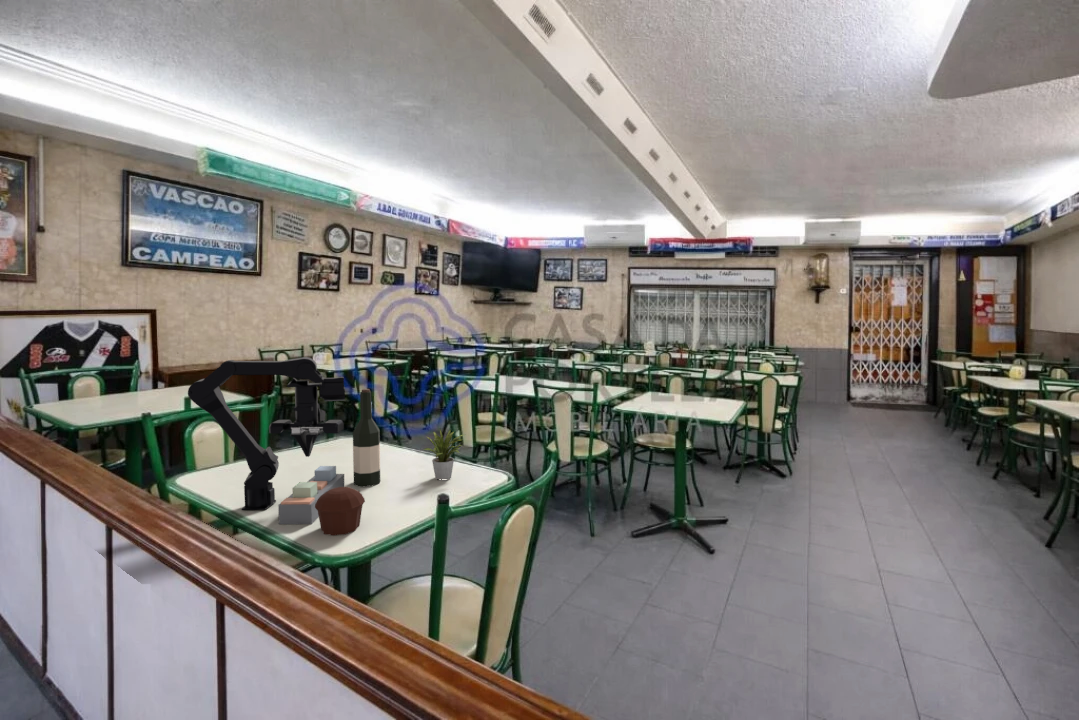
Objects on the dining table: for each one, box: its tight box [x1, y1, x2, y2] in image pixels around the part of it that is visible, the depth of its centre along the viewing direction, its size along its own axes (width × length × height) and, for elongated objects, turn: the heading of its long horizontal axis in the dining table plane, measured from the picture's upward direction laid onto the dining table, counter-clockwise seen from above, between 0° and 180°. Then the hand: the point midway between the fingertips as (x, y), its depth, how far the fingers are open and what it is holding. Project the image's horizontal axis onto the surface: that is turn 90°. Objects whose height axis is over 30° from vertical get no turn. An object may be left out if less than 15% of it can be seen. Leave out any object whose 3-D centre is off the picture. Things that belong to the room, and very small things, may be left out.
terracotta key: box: [310, 481, 327, 490], centre depth 145 cm, size 5×5×4 cm
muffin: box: [315, 486, 366, 537], centre depth 129 cm, size 12×11×10 cm
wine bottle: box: [352, 388, 381, 488], centre depth 163 cm, size 8×8×30 cm
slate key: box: [314, 465, 337, 481], centre depth 152 cm, size 5×5×4 cm
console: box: [277, 473, 346, 525], centre depth 144 cm, size 8×26×6 cm, turn 3°
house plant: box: [423, 429, 466, 481], centre depth 168 cm, size 14×14×16 cm
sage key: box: [292, 481, 317, 498], centre depth 137 cm, size 5×5×4 cm
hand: (308, 456), depth 146 cm, fingers closed
